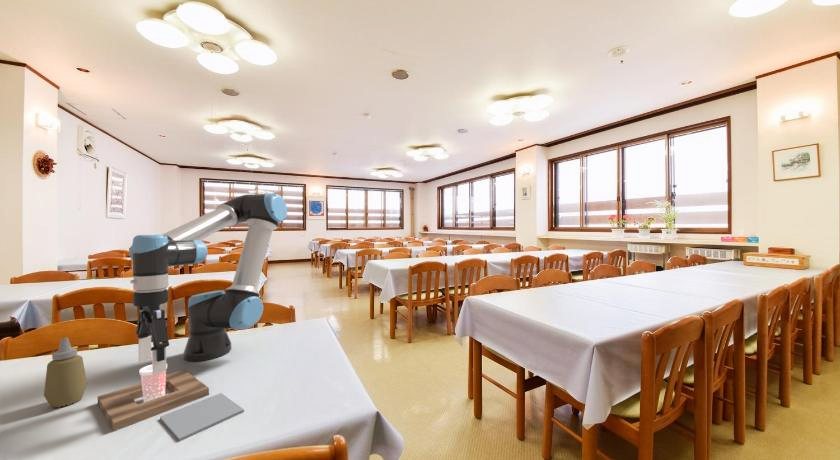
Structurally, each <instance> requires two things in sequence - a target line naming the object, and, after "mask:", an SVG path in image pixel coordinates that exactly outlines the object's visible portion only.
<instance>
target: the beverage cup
mask: <svg viewBox="0 0 840 460" xmlns="http://www.w3.org/2000/svg"><path fill="white" fill-rule="evenodd" d="M151 363H152V364H149V365H145V366H143V367H142V368H140V369H139V370H138V372H139V373H138V374H139V375H140V380H141V382H140V383H142V391H143V397H142V399H143V403H144V402H147V401H150V400H152V399H155V398H158V397H161V396H164V395H166V389H165V385H166V375H167V369H168V363H166V371H164V372H161V373H158V374H153V351H151Z"/></svg>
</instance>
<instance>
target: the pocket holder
mask: <svg viewBox="0 0 840 460" xmlns="http://www.w3.org/2000/svg"><path fill="white" fill-rule="evenodd" d="M166 389H170V391H172V392H169V393H168V394H165V395H164V396H161V397H158V398H155V399H152V400H150V401H147V402H144V401H143V402H142V403H139V404H138V403H137V402H136V401H135V400H136V399H139V398H143V391H142V383H141V382H139V383H136V384H134V385H129V386H126V387H124V388H121V389H117V390H114V391H111V392H108V393H104V394H101V395H97V405H98V407H99V406H100V407H99V408H100V410H101V412H102V411H103V412H102V414H103V415H104V416H106V417H105V419H106V420H107V422H108V421H109V422H108V424H109V423H110V424H109V425H110V427H111V426H112V427H111V429H112V428H113V429H112V430H113V432H116V431H118V430H117V429H119V430H121V429H123V427H124V428H126V427H129V426H132V425H133V424H136V423H139V422H142V421H144V420H147V419H150V418H152V417H154V416H158V415H160V414H163V413H165V412H168V411H170V410H174V409H175V408H178V407H180V406H183V405H186V404H188V403H191V402H195V401H196V400H199V399H202V398H204V397H207V396H209V395H210V388H209V386H208V385H206V384H204V383H203V382H202V381H200V380H199V379H197V378H196V377H195V376H193V374H191V373H190V372H188V371H187V370H185V369H181V370H177V371H175V372H171V373H168V374H166V385H165V390H166ZM120 428H121V429H120ZM115 430H116V431H115Z"/></svg>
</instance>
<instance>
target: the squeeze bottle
mask: <svg viewBox="0 0 840 460" xmlns="http://www.w3.org/2000/svg"><path fill="white" fill-rule="evenodd" d="M51 356H52V357H51V359H52V360H51V361H49V362H48V363H47V364H46V365H47V366H46V374H45V383H44V390H43V391H44V392H43V396H44V398H45V400H46V402H47V403H48V405H49V406H50V407H51V408H52V407H58V408H62V407H61V406H63V407H66V406H65V405H67V406H70V405H73V404H75V403H77V402H79V401H80V400H82V399H83V396H84V394H85V390H86V388H87V385H88V381H87V376H86V375H87V374H86V370H85V365H84V359H83V356H81V355H78V348H76V347H72V345H71V343H70V340H69V337H63V338H60V341H59V345H58V349H57V351H54V352H53V353H52V354H51ZM72 403H73V404H72ZM69 404H70V405H69Z"/></svg>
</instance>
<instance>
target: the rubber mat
mask: <svg viewBox="0 0 840 460" xmlns="http://www.w3.org/2000/svg"><path fill="white" fill-rule="evenodd" d="M244 412H245V409H244V408H242V407H241V406H240V405H239V404H237V403H236V402H234V401H233V400H231V399H230V398H229V397H227V395H225V394H223V393H221V392H220V393H217V394H215V395H212V396H210V397H206V398H205V399H202V400H198V401H197V402H194V403H192V404H189V405H186V406H184V407H181V408H178V409H175V410H173V411H171V412H169V413H167V414H164V415H162V416H159V420H160V421H161V422H162V424H164V426H165V427H166V428H167V429H168V430H169V432H171V434H172V435H174V437H175V438H176V439H177V441H179V442H181V441H184V440H186V439H188V438H190V437H192V436H194V435H197V434H200V433H201V432H203V431H205V430H207V429H209V428H212V427H213V426H215V425H218V424H220V423H223V422H224V421H227V420H229V419H231V418H233V417H235V416H238V415H240V414H242V413H244Z"/></svg>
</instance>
